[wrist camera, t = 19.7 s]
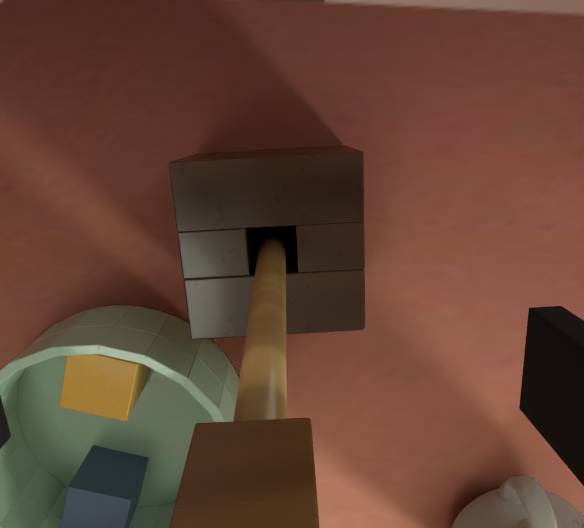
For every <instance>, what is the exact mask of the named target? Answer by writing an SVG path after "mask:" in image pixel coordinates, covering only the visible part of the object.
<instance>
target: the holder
mask: <svg viewBox="0 0 584 528" xmlns="http://www.w3.org/2000/svg"><path fill="white" fill-rule="evenodd" d="M169 169H170V176H171V184H172V192H173V200H174V208H175V216H176V224H177V231H178V239H179V247H180V255H181V263H182V271H183V278H184V286H185V294H186V302H187V310H188V318H189V326H190V334H191V339H210V338H228V337H246V332H247V325H248V318H249V312H250V305H251V298H252V291H253V284H254V278H255V271H256V264H257V257H258V251H259V244H260V243H257V230H256V227H273V226H291V225H294V230H295V241H286V334H299V333H317V332H334V331H352V330H364V329H365V278H364V222H363V221H364V175H363V151H360V150H357V149H354V148H350V147H347V146H344V145H343V146H325V147H307V148H289V149H272V150H254V151H236V152H219V153H201V154H194V155H191V156H188V157H184V158H181V159H178V160H175V161H171V162H169Z"/></svg>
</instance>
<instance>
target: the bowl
mask: <svg viewBox="0 0 584 528" xmlns="http://www.w3.org/2000/svg"><path fill="white" fill-rule="evenodd" d="M91 354H101V355H105V356H110V357H114V358H118V359H123V360H127V361H132V362H136V363H141V364H144V365H145V366H147V367H149V370H148V375H147V380H146V385H145V387H144V389H143V391H142V393H141V395H140V397H139V399H138V400H137V402H136V404H135V406H134V408H133V410H132V412H131V413H130V415H129V417H128V419H127V421H122V420H117V419H112V418H108V417H103V416H99V415H94V414H90V413H85V412H81V411H76V410H72V409H67V408H63V407H60V406H59V405H60V398H61V392H62V385H63V379H64V372H65V366H66V360H67V356H73V355H91ZM238 386H239V377H238V375H237V373H236V371H235V369H234V367H233V366H232V364H231V363H230V361H229V360H228V358H227V357H226V355H225V354H224V353H223V352H222V351H221V349H220V348H219V347H218V346H217V345H216V344H215V343H214V342H213V341H212V340H211V339H191V334H190V326H189V323H187V322H185V321H183V320H181V319H179V318H177V317H175V316H172V315H170V314H167V313H164V312H162V311H158V310H154V309H150V308H146V307H138V306H130V305H112V306H104V307H96V308H92V309H88V310H85V311H81V312H79V313H76V314H74V315H71V316H69V317H67V318H65V319H63V320H61V321H60V322H58V323H56V324H54V325H52V326H51V327H50V328H49V329H48V330H47V331H45V332H44V333H43V334H42V335H41V336H39V337H38V338H37V339H36V340H35V341H34V342H32V343H31V344H30V345H29V346H28V347H27V348H25V349H24V350H23V351H22V352H21V353H20V354H18V355H17V356H16V357H15V358H14V359H13V360H11V361H10V362H9V363H8V364H7V365H6V366H4V367H3V368H2V369H1V370H0V395H1V399H2V403H3V407H4V411H5V415H6V418H7V422H8V426H9V430H10V434H11V437H10V439H9V440H8V441H7V442H6V443H5V444H4V445H3V447H2V448H1V449H0V528H60V527H61V521H62V516H63V510H64V505H65V500H66V494H67V489H68V486H69V484H70V482H71V481H72V479H73V477H74V476H75V474H76V472H77V471H78V469H79V467H80V466H81V464H82V462H83V461H84V459H85V457H86V456H87V454H88V452H89V451H90V449H91V447H92V446H93V445H95V446H99V447H104V448H108V449H112V450H117V451H121V452H126V453H130V454H135V455H139V456H144V457H148V458H149V459H148V463H147V467H146V472H145V476H144V480H143V484H142V488H141V493H140V497H139V501H138V504H137V506H136V509H135V512H134V514H133V517H132V519H131V522H130V524H129V527H128V528H169V525H170V521H171V517H172V513H173V509H174V505H175V502H176V498H177V494H178V490H179V486H180V482H181V478H182V474H183V470H184V466H185V462H186V459H187V455H188V451H189V447H190V443H191V439H192V435H193V431H194V427H195V424H197V423H210V422H231V421H233V420H234V413H235V406H236V399H237V393H238Z"/></svg>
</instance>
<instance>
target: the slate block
mask: <svg viewBox="0 0 584 528" xmlns="http://www.w3.org/2000/svg"><path fill="white" fill-rule="evenodd" d="M148 459H149V458H148V457H144V456H139V455H135V454H130V453H126V452H121V451H117V450H112V449H108V448H104V447H99V446H95V445H93V446H92V447H91V449H90V451H89V452H88V454H87V456H86V457H85V459H84V461H83V462H82V464H81V466H80V467H79V469H78V471H77V472H76V474H75V476H74V477H73V479H72V481H71V482H70V484H69V486H68V489H67V494H66V500H65V505H64V510H63V516H62V521H61V527H60V528H128V527H129V524H130V522H131V519H132V517H133V514H134V512H135V509H136V506H137V504H138V501H139V497H140V493H141V488H142V484H143V480H144V476H145V472H146V467H147V463H148Z"/></svg>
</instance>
